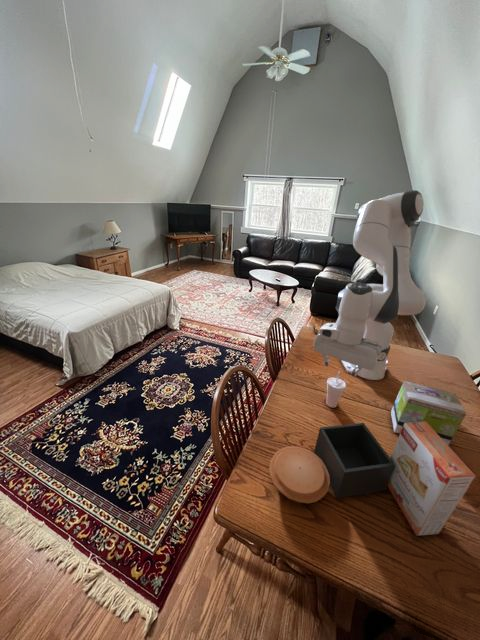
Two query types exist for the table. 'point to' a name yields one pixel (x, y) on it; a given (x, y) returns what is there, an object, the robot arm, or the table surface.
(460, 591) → the table surface
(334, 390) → the smoothie
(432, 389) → the tea box
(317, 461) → the pie
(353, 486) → the trash bin
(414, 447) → the cracker box
